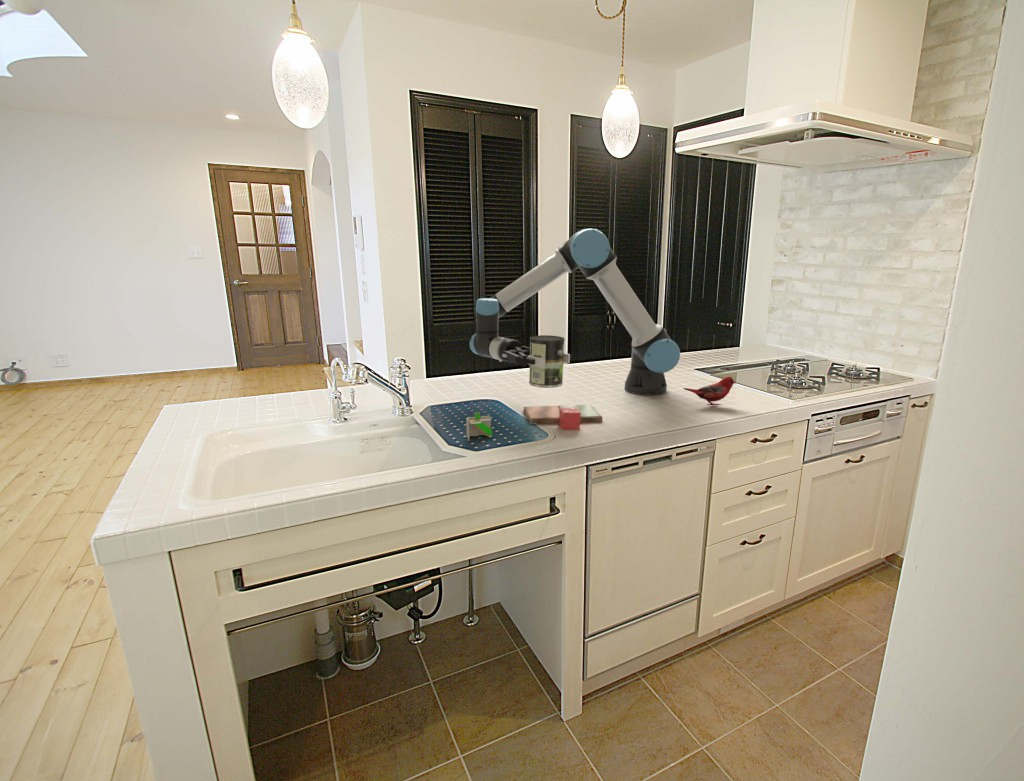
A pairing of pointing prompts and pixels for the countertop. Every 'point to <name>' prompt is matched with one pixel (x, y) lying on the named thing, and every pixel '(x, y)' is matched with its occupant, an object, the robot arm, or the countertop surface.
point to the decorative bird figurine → (714, 390)
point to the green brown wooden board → (552, 414)
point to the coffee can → (547, 361)
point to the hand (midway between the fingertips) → (556, 361)
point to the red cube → (569, 418)
